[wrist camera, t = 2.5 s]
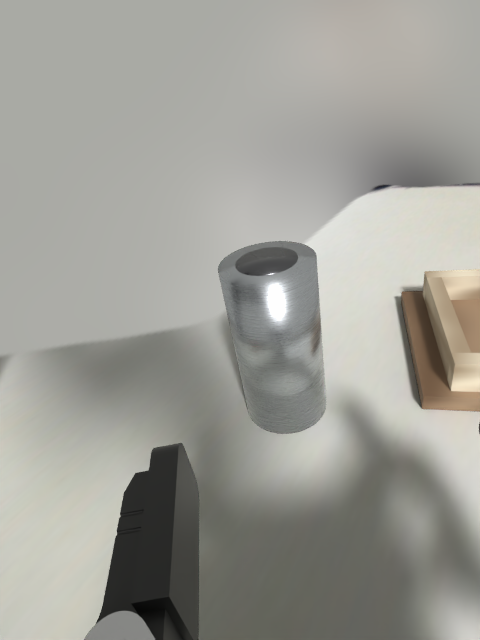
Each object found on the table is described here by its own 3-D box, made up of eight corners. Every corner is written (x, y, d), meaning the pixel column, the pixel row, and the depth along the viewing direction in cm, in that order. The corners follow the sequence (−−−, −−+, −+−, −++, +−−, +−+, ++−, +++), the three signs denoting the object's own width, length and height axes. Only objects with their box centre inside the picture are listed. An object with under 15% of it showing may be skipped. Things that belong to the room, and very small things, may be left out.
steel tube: (240, 430, 24) (205, 286, 19) (255, 375, 28) (231, 243, 23) (323, 436, 23) (312, 281, 17) (327, 377, 27) (319, 237, 21)
